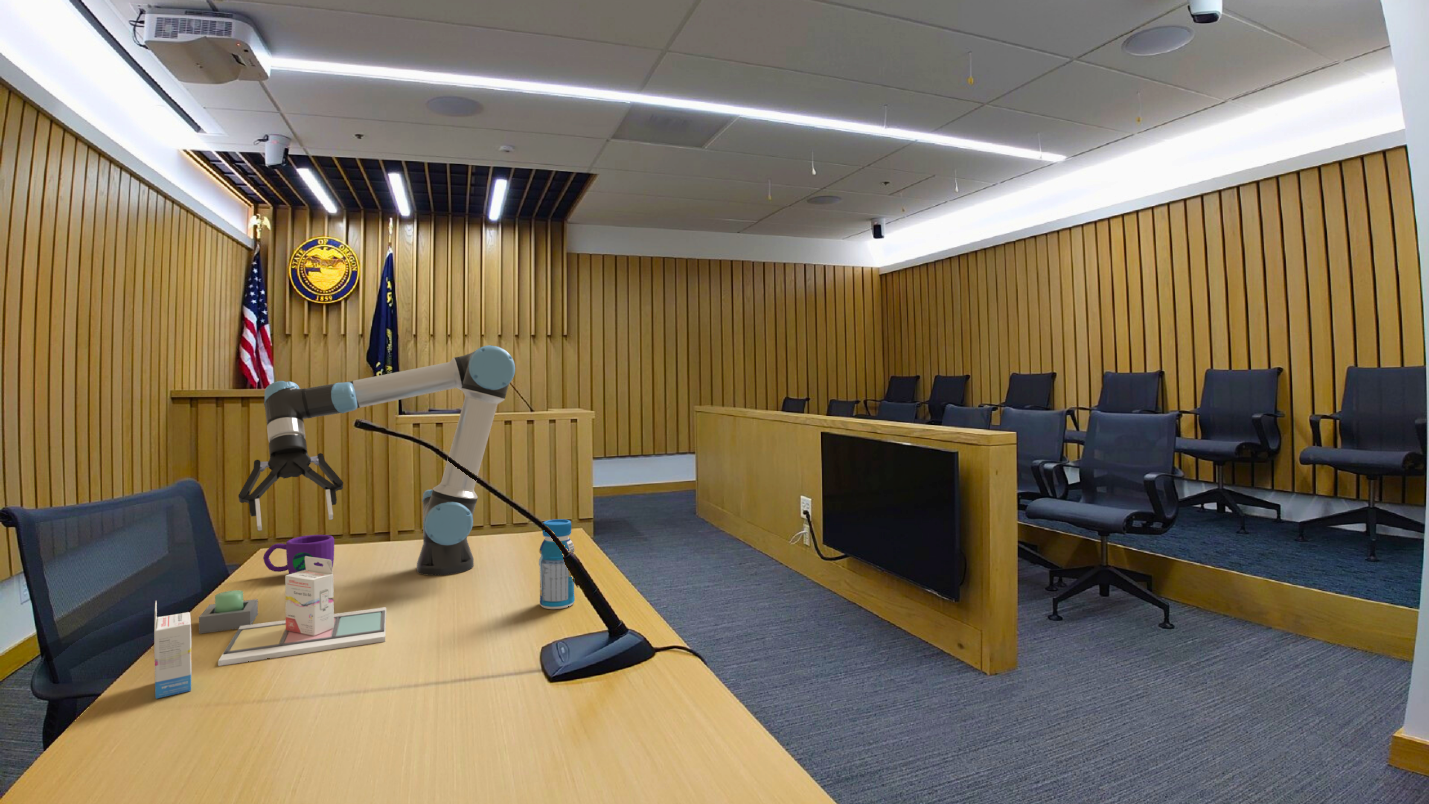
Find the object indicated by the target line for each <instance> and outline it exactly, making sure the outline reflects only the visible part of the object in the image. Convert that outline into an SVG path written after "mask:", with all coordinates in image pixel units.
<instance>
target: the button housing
mask: <svg viewBox="0 0 1429 804" xmlns="http://www.w3.org/2000/svg"><path fill="white" fill-rule="evenodd" d="M256 616H257V617H258V616H259V600H258V598H255V599H248V600H247V599H246V600H243V610H239V611H231V612H223V613H215V603H213V604H212V603H211V604H209V605H208V606H207V607H206V608H205V609H204V611H203V612H202V613H201V614H200V615H199V616H198V634H200V635H201V634H207V633H215V632H224V631H231V630H230V629H232V630H238V629H239V627H240V626H243V625H251V624H254V622H255V620H256V618H257V617H256ZM253 621H254V622H253Z"/></svg>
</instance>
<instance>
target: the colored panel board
mask: <svg viewBox="0 0 1429 804" xmlns="http://www.w3.org/2000/svg"><path fill="white" fill-rule="evenodd" d="M386 622H387V607H384V606H383V607H375V608H370V609H362V610H361V609H360V610H353V611H346V612H338V613H334V628H333V629H330V630H328V631H325V632H322V633H320V634H317V635H315V636H312V635H307V634H302V633H298V632H293V631H288V630H286V619H283V620H276V621H269V622H262V623H252V624H251V625H243V626H240V627H239V629H237V631H236V632H235V633H234V635H233V637H232V638H231V640H230V641H229V644H228V645H227V646H226V648H225V649H224V651H223V652H222V653H221V656H220V657H219V659H218V661H217V665H218V667H222V666H227V665H235V664H242V663H248V661H249V662H257V661H262V660H268V659H267V658H270V659H275V658H282V657H289V656H295V655H301V654H302V655H303V654H308V653H310V654H311V653H315V652H322V651H329V650H335V649H336V650H337V649H343V648H349V647H356V646H357V647H358V646H364V645H370V644H375V643H376V644H377V643H383V642H386V632H387V630H386V629H387V628H386V627H387V626H386V625H387V623H386Z"/></svg>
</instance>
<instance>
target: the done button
mask: <svg viewBox="0 0 1429 804" xmlns="http://www.w3.org/2000/svg"><path fill="white" fill-rule="evenodd" d="M243 601H244V591H243V590H227V591H223V592H220V593H217V594H215V595H214V604H215V613H223V612H231V611H239V610H243Z"/></svg>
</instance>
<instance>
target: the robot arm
mask: <svg viewBox="0 0 1429 804" xmlns="http://www.w3.org/2000/svg"><path fill="white" fill-rule="evenodd" d="M515 374H516V365H515V361H514V359H513V357H512V355H511V354H510V353H509V352H508V351H507V350H506V349H504V348H502V347H500V346H495V345H490V344H489V345H484V346H480V347H479V348H477V349H475V350H474V351H472V352H469V353H467V354H464V355H461V356H454V357H452V358H451V360H450V361H448V362H442V363H437V364H432V365H428V366H423V367H416V368H412V369H407V370H401V371H395V372H392V373H387V374H381V375H376V376H370V377H365V378H359V379H355V380H352V381H344V382H336V383H329V384H325V385H324V384H323V385H317V386H312V387H306V388H305V387H304V388H300V386H299V385H298V384H297V383H296V382H293V381H289V380H288V381H284V380H278V381H274V382H272V383H270V384H268V385H267V386H266V388H265V389H264V403H263V405H264V410H265V419H266V429H267V430H266V431H267V441H268V452H269V460H268V461H261V460H260V459H254V461H253V468H252V470H251V472H250V474H249V476H248V477H247V479H246V481H245V483H244V485H243V487H242V488H241V490H240V492H239V494H238V501H239V503H241V504H243V503H245V504H246V503H247V504H248V507H249V509H248V510H249V515H250V517H256V528H257V531H258V532H260V531H263V526H262V515H261V514H262V513H261V505H260V504H261V503H260V499H261V497H262V496H263V495H264V494H265V493H266V492H267V491H268V490H269V489H270V487H271V486H272V485H274V483H276V482H277V481H278V479H280V478H282V479H288V478H299V477H300V476H303V477H305V478H307V479H309V480H310V481H312V482H314V484H316V485H317V486H319V487H320V488H322V489H323V490H325V499H326V506H327V514H328V520H329V521H331V520H334V511H333V506H334V505H336V504H337V501H338V499H337V491H342V490H343V489H344V481H343V480H342V479H341V478H340V477H339V475H338V474H337V473H336V472H335V471H334V469H333V468H332V467H331V466H330V464H329V463H328V462H327V461H326V460H325V457H324V454H323V453H321V452H320V453H317V455H316V456H315V455H314V456H310V455H309V454H308V444H307V439H306V429H305V423H304V420H305V419H313V418H319V417H326V416H331V415H338V414H345V413H348V412H353V411H354V412H355V411H356V410H357V409H359V408H360V409H361V408H365V407H369V406H374V405H379V404H384V403H389V402H395V401H399V400H404V399H408V398H413V397H418V396H423V395H424V396H425V395H428V394H433V393H439V392H442V391H448V390H452V389H458V390H459V391H462V393H463V395H464V399H463V404H462V407H461V410H460V413H459V418H458V422H457V424H456V429H455V432H454V436H453V439H452V442H451V446H450V450H449V453H448V456H449V457H451V458H452V459H453V460H455V461H456V462H457V463H459V464H460V465H461V466H463V467H465V468H466V469H468V470H469V471H470V472H472V473H474V474H475V475H477V476H479V473H480V469H481V466H482V462H483V458H484V455H485V450H486V447H487V444H488V440H489V436H490V433H491V430H492V429H491V428H492V425H493V423H494V419H495V415H496V411H497V408H498V405H499V404H500V403H503V402H504V401H506V400H505V399H506V397H507V393H508V389H509V386H510V383H511V382H512V381H513V379H514V376H515ZM311 463H313V464H314V465H316V466H318V467H319V468H320V470H321V471H322V473H323V474H324V476H326V477H327V478H325V477H323V476H322V475H320V473H318V472H316V471H315V470H313V469H312V467H311V466H310V465H311ZM267 468H268V469H269V470H271V471H270V472H269V474H267V476H266V477H265V478H264V479H263V480H262V481H261V482H260V484H258V486H257V487H255V488H254V486H256V483H257V481H258V479H259V478H260V476H261V472H264V471H265V469H267ZM329 480H330V481H329ZM440 481H441V482H440V483H439V484H437V485H435V486H434V487H433V488H432V489H427V490H424V492H423V493H422V500H421V502H422V524H423V525H422V526H423V527H422V530H423V531H422V532H423V533H422V536H423V537H422V538H423V539H422V540H423V541H422V542H423V544H422V547H421V550H420V552H419V556H418V559H417V562H416V573H418V574H421V575H424V576H446V575H447V576H448V575H453V574H459V573H463V572H466V571H469V570H470V569H472V568H474V564H475V563H474V556H473V553H472V551H471V550H472V549H471V547H470V545H469V542H468V536H469V535H470V533H471V531H472V529H473V526H474V517H473V516H474V513H475V510H476V509H475V508H476V505H477V501H478V498H479V497H478V495H477V493H476V492H475V487H476V484H477V480H476V481H475V480H474V479H472V478H470V477H469V476H468V475H466V474H465V473H464V472H462V471H461V470H460V469H457V467H455V466H454V465H453V464H452V463H450V462H449V461H448V459H447V460H446V464H445V467H444V471H443V475H442V477H441V480H440ZM252 490H253V491H252Z"/></svg>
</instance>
